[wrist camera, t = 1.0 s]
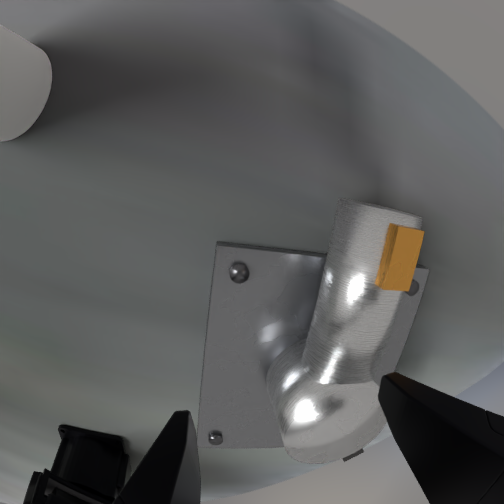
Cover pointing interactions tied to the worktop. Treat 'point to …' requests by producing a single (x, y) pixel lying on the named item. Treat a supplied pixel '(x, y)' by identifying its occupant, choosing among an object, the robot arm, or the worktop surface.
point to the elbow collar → (346, 335)
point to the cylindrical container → (21, 84)
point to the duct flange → (266, 337)
